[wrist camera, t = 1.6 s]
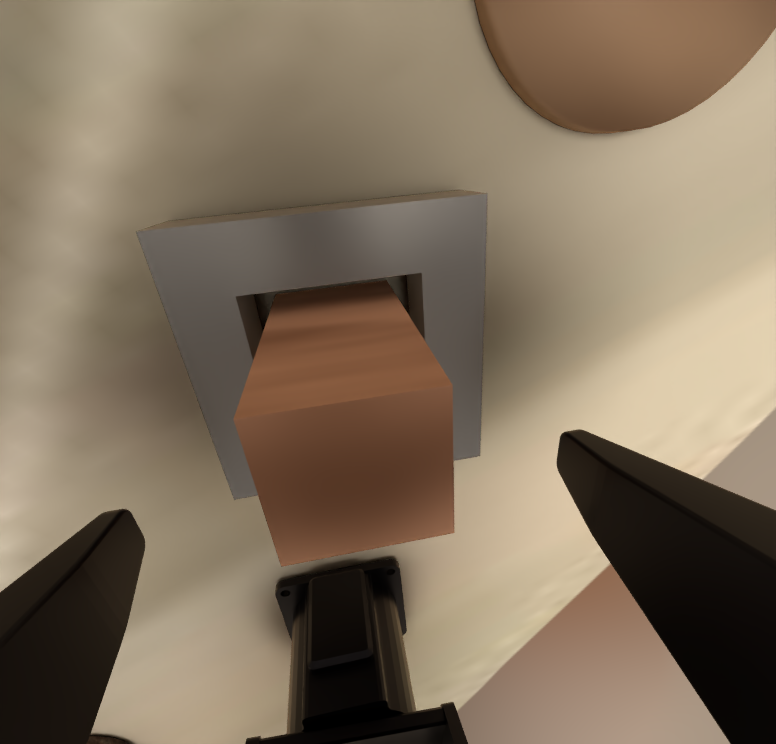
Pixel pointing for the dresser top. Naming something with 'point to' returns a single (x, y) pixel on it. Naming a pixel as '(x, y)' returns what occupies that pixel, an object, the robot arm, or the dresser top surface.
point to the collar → (316, 268)
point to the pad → (621, 55)
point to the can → (104, 740)
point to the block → (347, 425)
